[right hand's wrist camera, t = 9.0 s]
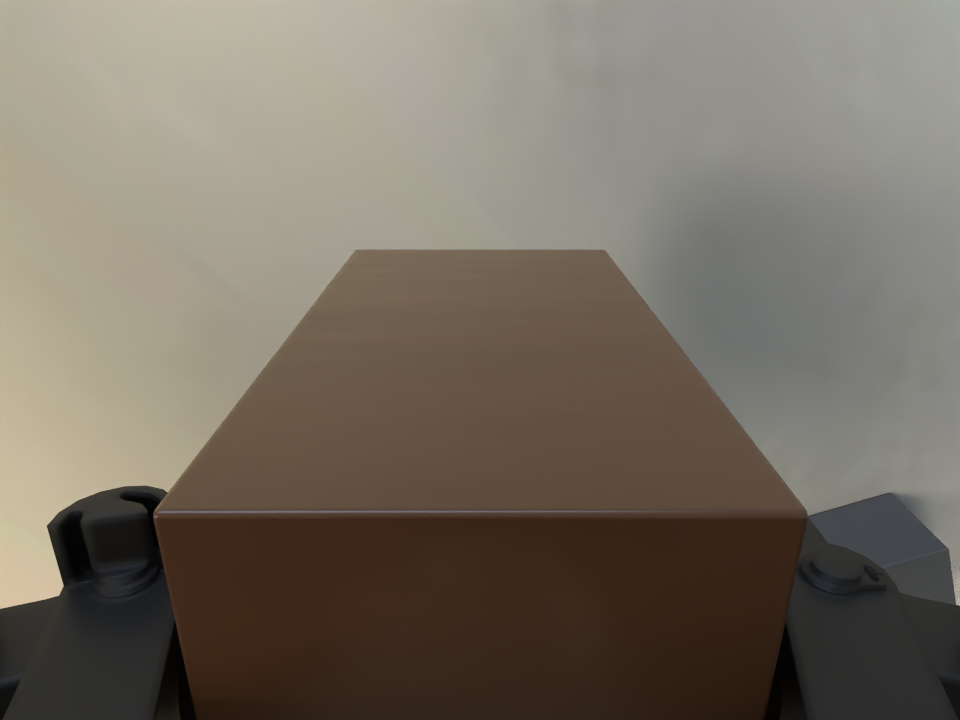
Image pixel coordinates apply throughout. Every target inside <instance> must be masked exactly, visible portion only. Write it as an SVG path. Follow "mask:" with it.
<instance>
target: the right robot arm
mask: <svg viewBox="0 0 960 720" xmlns="http://www.w3.org/2000/svg"><path fill="white" fill-rule="evenodd" d="M167 494H168V493H167V492H166V491H165V490H163V489H158V488H154V487H149V486H126V487H120V488H116V489H111V490H106V491H102V492H99V493H96V494H94V495H91V496H89V497H86V498H84V499H81V500H78V501H77V502H75V503H74V504H72V505H70V506H69V507H67V508H66V509H64V510H62V511H61V512H59V513H58V514H57V515H56V516H55V518H54V519H53V520H52V521H51V522H50V523H49V524H48V525H47V528H48V532H49V535H50V539H51V542H52V546H53V549H54V553H55V556H56V560H57V563H58V567H59V570H60V574H61V577H62V581H63V584H64V587H63V589H62V591H61V593H60V595H59V596H57V597H53V598H49V599H46V600H41V601H36V602H32V603H27V604H22V605H17V606H12V607H8V608H3V609H0V720H196V715H195V710H194V706H193V701H192V697H191V692H190V687H189V683H188V678H187V673H186V669H185V664H184V659H183V655H182V650H181V645H180V641H179V636H178V631H177V627H176V622H175V618H174V613H173V608H172V604H171V599H170V594H169V590H168V585H167V580H166V576H165V571H164V566H163V562H162V557H161V552H160V548H159V543H158V539H157V534H156V529H155V525H154V520H153V515H154V511H155V509H156V508H157V507H158V505H159V504H160V503H161V501H162V500H163V499H164V498H165V496H166V495H167ZM764 720H960V606H958V605H953V604H948V603H943V602H938V601H934V600H929V599H924V598H919V597H915V596H911V595H907V594H904V593H900V592H899V590H898V588H897V586H896V584H895V583H894V581H893V580H892V579H891V577H890V576H889V575H888V573H887V572H886V571H885V570H884V569H883V568H881V567H880V566H878V565H877V564H876V563H874V562H873V561H872V560H870V559H869V558H867V557H865V556H863V555H861V554H859V553H857V552H854V551H852V550H850V549H848V548H846V547H842V546H838V545H833V544H829V543H828V542H827V541H826V540H825V538H824V537H823V536H822V534H821V533H820V532H819V531H818V529H817V528H816V527H815V525H814V524H813V523H812V521H811V520H810V519H809V518H808V520H807V524H806V529H805V534H804V538H803V543H802V548H801V552H800V557H799V561H798V566H797V571H796V575H795V580H794V585H793V589H792V594H791V599H790V603H789V608H788V612H787V617H786V622H785V626H784V631H783V636H782V640H781V645H780V649H779V654H778V659H777V663H776V668H775V673H774V677H773V682H772V686H771V691H770V696H769V700H768V705H767V710H766V714H765V719H764Z"/></svg>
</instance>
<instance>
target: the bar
mask: <svg viewBox="0 0 960 720" xmlns="http://www.w3.org/2000/svg"><path fill="white" fill-rule="evenodd" d="M153 520H154V525H155V529H156V534H157V539H158V543H159V548H160V552H161V557H162V562H163V566H164V571H165V576H166V580H167V585H168V590H169V594H170V599H171V604H172V608H173V613H174V618H175V622H176V627H177V631H178V636H179V641H180V645H181V650H182V655H183V659H184V664H185V669H186V673H187V678H188V683H189V687H190V692H191V697H192V701H193V706H194V710H195V715H196V720H764V719H765V714H766V710H767V705H768V700H769V696H770V691H771V686H772V682H773V677H774V673H775V668H776V663H777V659H778V654H779V649H780V645H781V640H782V636H783V631H784V626H785V622H786V617H787V612H788V608H789V603H790V599H791V594H792V589H793V585H794V580H795V575H796V571H797V566H798V561H799V557H800V552H801V548H802V543H803V538H804V534H805V529H806V524H807V520H808V515H807V511H806V509H805V508H804V507H803V505H802V504H801V503H800V502H799V500H798V499H797V498H796V496H795V495H794V494H793V493H792V491H791V490H790V489H789V487H788V486H787V485H786V483H785V482H784V481H783V480H782V478H781V477H780V476H779V474H778V473H777V472H776V471H775V469H774V468H773V467H772V465H771V464H770V463H769V462H768V460H767V459H766V458H765V456H764V455H763V454H762V452H761V451H760V450H759V449H758V447H757V446H756V445H755V443H754V442H753V441H752V440H751V438H750V437H749V436H748V434H747V433H746V432H745V430H744V429H743V428H742V427H741V425H740V424H739V423H738V421H737V420H736V419H735V418H734V416H733V415H732V414H731V412H730V411H729V410H728V409H727V407H726V406H725V405H724V403H723V402H722V401H721V399H720V398H719V397H718V396H717V394H716V393H715V392H714V390H713V389H712V388H711V387H710V385H709V384H708V383H707V381H706V380H705V379H704V378H703V376H702V375H701V374H700V372H699V371H698V370H697V368H696V367H695V366H694V365H693V363H692V362H691V361H690V359H689V358H688V357H687V356H686V354H685V353H684V352H683V350H682V349H681V348H680V346H679V345H678V344H677V343H676V341H675V340H674V339H673V337H672V336H671V335H670V334H669V332H668V331H667V330H666V328H665V327H664V326H663V325H662V323H661V322H660V321H659V319H658V318H657V317H656V315H655V314H654V313H653V312H652V310H651V309H650V308H649V306H648V305H647V304H646V303H645V301H644V300H643V299H642V297H641V296H640V295H639V294H638V292H637V291H636V290H635V288H634V287H633V286H632V284H631V283H630V282H629V281H628V279H627V278H626V277H625V275H624V274H623V273H622V272H621V270H620V269H619V268H618V266H617V265H616V264H615V262H614V261H613V260H612V259H611V257H610V256H609V255H608V253H607V252H606V251H605V250H356V251H354V253H353V254H352V255H351V257H350V258H349V259H348V261H347V262H346V263H345V264H344V266H343V267H342V268H341V270H340V271H339V272H338V273H337V275H336V276H335V277H334V279H333V280H332V281H331V283H330V284H329V285H328V286H327V288H326V289H325V290H324V292H323V293H322V294H321V295H320V297H319V298H318V299H317V301H316V302H315V303H314V305H313V306H312V307H311V308H310V310H309V311H308V312H307V314H306V315H305V316H304V317H303V319H302V320H301V321H300V323H299V324H298V325H297V327H296V328H295V329H294V330H293V332H292V333H291V334H290V336H289V337H288V338H287V340H286V341H285V342H284V343H283V345H282V346H281V347H280V349H279V350H278V351H277V352H276V354H275V355H274V356H273V358H272V359H271V360H270V362H269V363H268V364H267V365H266V367H265V368H264V369H263V371H262V372H261V373H260V374H259V376H258V377H257V378H256V380H255V381H254V382H253V384H252V385H251V386H250V387H249V389H248V390H247V391H246V393H245V394H244V395H243V396H242V398H241V399H240V400H239V402H238V403H237V404H236V406H235V407H234V408H233V409H232V411H231V412H230V413H229V415H228V416H227V417H226V419H225V420H224V421H223V422H222V424H221V425H220V426H219V428H218V429H217V430H216V431H215V433H214V434H213V435H212V437H211V438H210V439H209V441H208V442H207V443H206V444H205V446H204V447H203V448H202V450H201V451H200V452H199V453H198V455H197V456H196V457H195V459H194V460H193V461H192V463H191V464H190V465H189V466H188V468H187V469H186V470H185V472H184V473H183V474H182V475H181V477H180V478H179V479H178V481H177V482H176V483H175V485H174V486H173V487H172V488H171V490H170V491H169V492H168V494H167V495H166V496H165V498H164V499H163V500H162V501H161V503H160V504H159V505H158V507H157V508H156V509H155V511H154V515H153Z"/></svg>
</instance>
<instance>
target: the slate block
mask: <svg viewBox="0 0 960 720" xmlns="http://www.w3.org/2000/svg"><path fill="white" fill-rule="evenodd" d="M808 518H809V519H810V520H811V521H812V523H813V524H814V525H815V527H816V528H817V529H818V531H819V532H820V533H821V534H822V536H823V537H824V538H825V540H826V541H827V542H828V543H829V544H833V545H838V546H842V547H846V548H848V549H850V550H852V551H854V552H857V553H859V554H861V555H863V556H865V557H867V558H869V559H870V560H872V561H873V562H874V563H876V564H877V565H878V566H880V567H881V568H883V569H884V570H885V571H886V572H887V573H888V575H889V576H890V577H891V579H892V580H893V581H894V583H895V584H896V586H897V588H898V590H899V592H900V593H904V594H907V595H911V596H915V597H919V598H924V599H929V600H934V601H938V602H943V603H948V604H953V605H956V602H955V594H954V586H953V579H952V571H951V563H950V556H949V549H948V548H947V547H946V546H945V545H944V544H943V543H942V542H941V541H940V540H939V539H938V538H937V537H936V536H935V535H934V534H933V533H932V532H931V531H930V530H928V529H927V528H926V527H925V526H924V525H923V524H922V523H921V522H920V521H919V520H918V519H917V518H916V517H915V516H914V515H913V514H912V513H911V512H910V511H909V510H908V509H907V508H906V507H905V506H904V505H903V504H902V503H901V502H900V501H899V500H898V499H897V498H896V497H895V496H894V495H893V494H892V493H889V494H885V495H882V496H878V497H875V498H871V499H868V500H864V501H861V502H857V503H854V504H850V505H847V506H843V507H840V508H837V509H833V510H830V511H826V512H823V513H819V514H816V515H812V516H809V517H808Z"/></svg>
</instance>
